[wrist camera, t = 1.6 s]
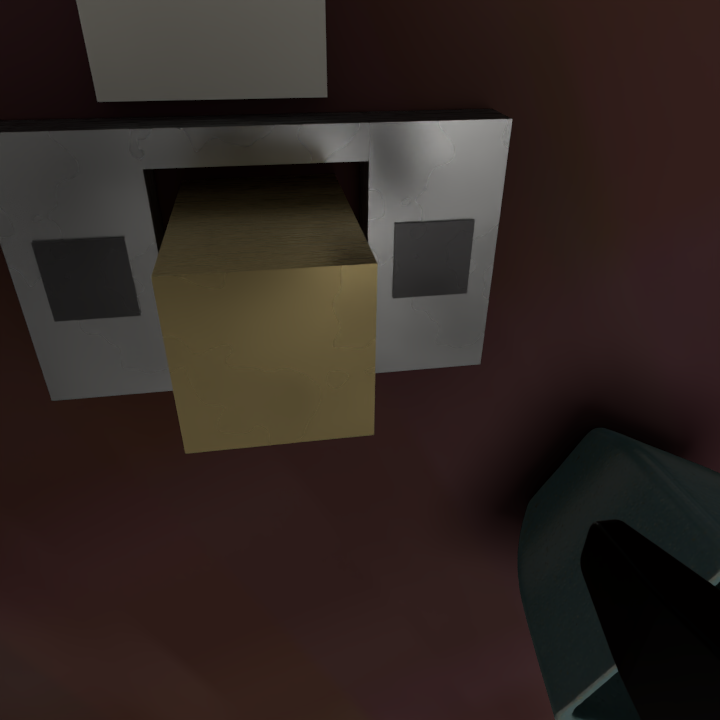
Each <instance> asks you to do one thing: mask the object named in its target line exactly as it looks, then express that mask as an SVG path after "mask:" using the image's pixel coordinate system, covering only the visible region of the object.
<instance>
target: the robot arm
mask: <svg viewBox="0 0 720 720" xmlns="http://www.w3.org/2000/svg"><path fill="white" fill-rule="evenodd" d="M580 566H581V571H582V574H583V577H584V580H585V583H586V585H587V588H588V591H589V594H590V596H591V599H592V602H593V605H594V607H595V610H596V613H597V616H598V618H599V621H600V624H601V627H602V630H603V632H604V635H605V638H606V641H607V643H608V646H609V649H610V652H611V654H612V657H613V659H614V662H615V665H616V667H617V670H618V672H619V674H620V676H621V679H622V681H623V683H624V685H625V687H626V689H627V692H628V694H629V696H630V698H631V700H632V702H633V704H634V706H635V708H636V710H637V712H638V714H639V717H640V719H641V720H720V589H718V588H717V587H716V586H714V585H713V584H711V583H710V582H709V581H707V580H706V579H704V578H703V577H701V576H700V575H699V574H697V573H696V572H694V571H693V570H691V569H690V568H689V567H687V566H686V565H684V564H683V563H682V562H680V561H679V560H677V559H676V558H674V557H673V556H672V555H670V554H669V553H667V552H666V551H664V550H663V549H662V548H660V547H659V546H657V545H656V544H655V543H653V542H652V541H650V540H649V539H647V538H646V537H645V536H643V535H642V534H640V533H639V532H637V531H636V530H635V529H633V528H632V527H630V526H629V525H628V524H626V523H625V522H623V521H621V520H617V519H611V520H602V521H596V522H593V523H592V524H591V525H590V528H589V531H588V534H587V537H586V540H585V544H584V547H583V550H582V553H581V558H580Z"/></svg>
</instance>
